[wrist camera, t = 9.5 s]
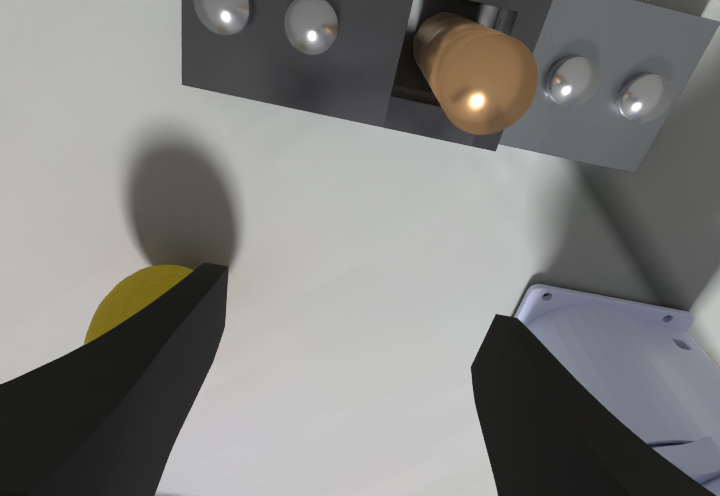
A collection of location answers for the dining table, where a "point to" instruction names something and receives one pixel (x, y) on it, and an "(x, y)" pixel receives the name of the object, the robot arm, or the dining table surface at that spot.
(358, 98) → the chain joint
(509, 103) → the copper pin
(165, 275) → the lemon
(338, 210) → the dining table surface
